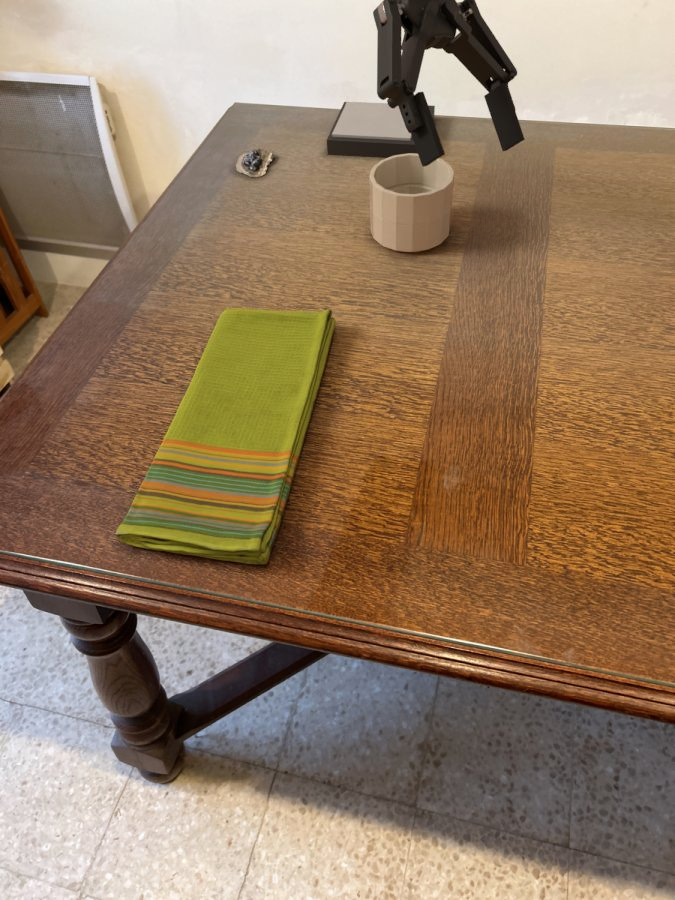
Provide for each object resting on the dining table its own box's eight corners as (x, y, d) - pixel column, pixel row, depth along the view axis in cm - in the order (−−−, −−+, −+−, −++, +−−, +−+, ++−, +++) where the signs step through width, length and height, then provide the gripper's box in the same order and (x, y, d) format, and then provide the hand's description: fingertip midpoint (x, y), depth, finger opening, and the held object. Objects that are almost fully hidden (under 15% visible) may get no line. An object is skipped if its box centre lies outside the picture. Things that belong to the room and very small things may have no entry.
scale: (434, 120, 124) (435, 102, 122) (423, 159, 115) (423, 141, 113) (344, 115, 127) (344, 98, 124) (327, 154, 118) (326, 136, 116)
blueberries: (274, 151, 120) (272, 140, 118) (278, 174, 114) (277, 163, 113) (234, 156, 119) (232, 145, 118) (237, 180, 114) (235, 169, 113)
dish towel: (117, 549, 69) (107, 531, 67) (222, 316, 92) (217, 296, 89) (268, 570, 67) (264, 552, 64) (338, 326, 89) (337, 305, 87)
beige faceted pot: (453, 214, 104) (458, 155, 98) (444, 258, 98) (448, 198, 91) (378, 209, 106) (378, 151, 100) (364, 252, 99) (362, 193, 93)
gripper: (460, -19, 85) (518, 154, 87) (298, -22, 71) (372, 183, 73) (508, -63, 79) (568, 124, 81) (340, -76, 65) (419, 150, 67)
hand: (475, 153), depth 77 cm, fingers open, 13 cm apart
